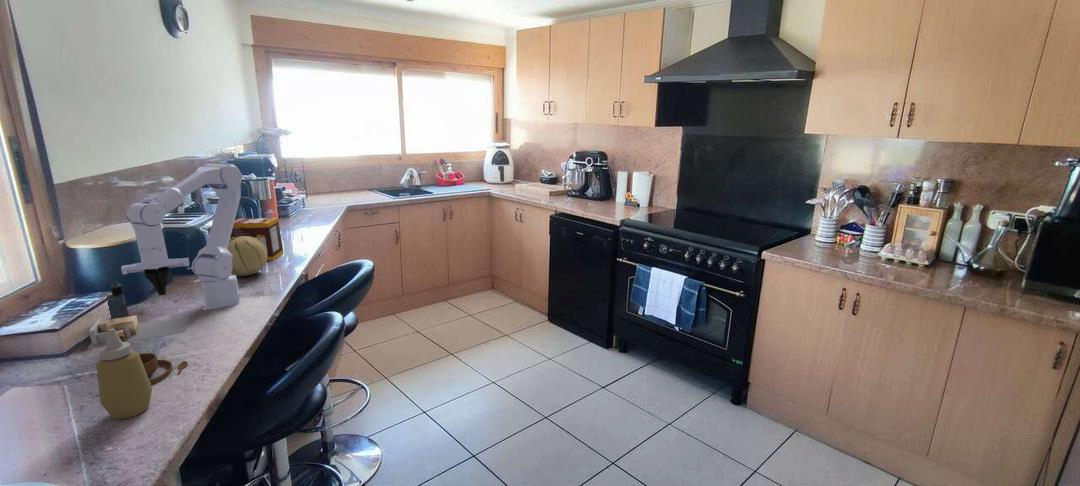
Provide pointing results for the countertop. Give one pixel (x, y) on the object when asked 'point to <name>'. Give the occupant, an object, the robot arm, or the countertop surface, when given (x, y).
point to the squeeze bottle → (122, 379)
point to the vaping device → (117, 302)
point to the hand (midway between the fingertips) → (162, 294)
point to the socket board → (141, 331)
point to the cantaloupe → (247, 255)
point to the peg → (120, 324)
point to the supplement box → (261, 233)
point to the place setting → (156, 364)
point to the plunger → (121, 332)
